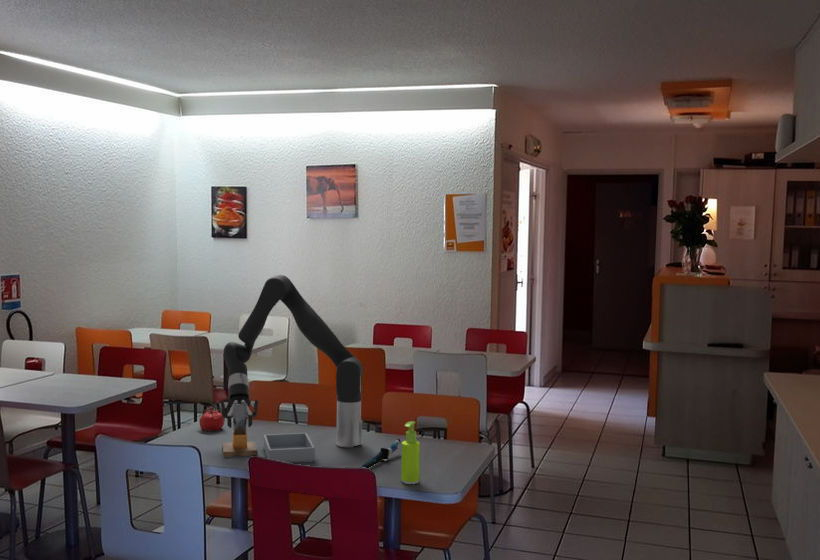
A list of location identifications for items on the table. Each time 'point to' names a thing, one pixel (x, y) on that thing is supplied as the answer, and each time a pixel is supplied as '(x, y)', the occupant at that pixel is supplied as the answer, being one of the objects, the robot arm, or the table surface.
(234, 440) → the strut
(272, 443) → the bin
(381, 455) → the knife
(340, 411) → the robot arm
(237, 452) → the stud block
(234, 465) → the table surface
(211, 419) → the red tomato
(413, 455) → the soap dispenser
